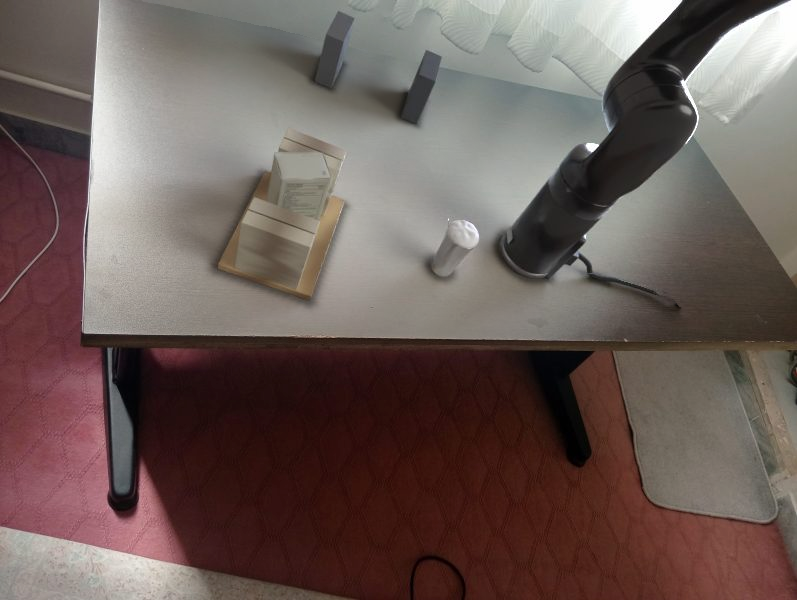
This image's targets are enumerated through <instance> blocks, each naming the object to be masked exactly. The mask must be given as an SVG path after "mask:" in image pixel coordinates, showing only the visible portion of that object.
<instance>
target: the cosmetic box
mask: <svg viewBox="0 0 797 600" xmlns="http://www.w3.org/2000/svg"><path fill="white" fill-rule="evenodd" d="M270 172H271V176H270V181H269V187H268V193H267V198H266V202H269V203H272V204H274V205H277V206H280V207H282V208H285V209H288V210H290V211H293V212H296V213H299V214H301V215H304V216H307V217H309V218H312V219H315V220H317V221H319V219H320V215H321V212H322V209H323V206H324V203H325V199H326V196H327V193H328V189H329V186H330V183H331V180H332V177H331V174H330V170H329V167H328V164H327V161H326V159H325V156H324V153H318V152H278V151H277V152H276V151H275V152H274V153H273V159H272V165H271V170H270Z"/></svg>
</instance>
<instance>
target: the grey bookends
mask: <svg viewBox="0 0 797 600" xmlns="http://www.w3.org/2000/svg"><path fill="white" fill-rule="evenodd" d="M355 20H356V18H355V17H354V16H351V15H349V14H347V13H344V12H342V11H339V10H338V11H337V12H336V14H335V16H334V18H333V19H332V21H331V23H330V25H329V28H328V30H327V31H326V33H325V37H324V41H323V45H322V49H321V52H320V53H321V54H320V56H319V57H320V58H319V61H318V66H317V71H316V74H315V79H314V83H316V84H319V85H322V86H324V87H326V88H328V89H333V86H334V83H335V81H336V79H337V78H338V76H339V75H338V74H339V73H340V70H341V68H342V66H343V63H344V59H345V56H346V52H347V49H348V45H349V41H350V38H351V34H352V31H353V27H354V23H355ZM442 59H443V57H442V55H440V54H437V53H435V52H432V51H430V50H428V49H426V50H425V51H424V54H423V56H422V59H421V61H420V64H419V66H418V67H417V71H416V74H415V76H414V78H413V81H412V82H411V83H412V84H411V85H410V88H409V91H408V94H407V96H406V100H405V104H404V106H403V110H402V114H401V116H400V118H401V119H404V120H405V121H408V122H411V123H412V124H415V125H417V124H418V123H419V120H420V119H421V116H422V113H423V112H424V109H425V107H426V105H427V103H428V100H429V99H430V96H431V93H432V91H433V89H434V87H435V84H436V82H437V79H438V75H439V71H440V66H441V63H442Z"/></svg>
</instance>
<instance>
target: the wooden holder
mask: <svg viewBox="0 0 797 600" xmlns="http://www.w3.org/2000/svg"><path fill="white" fill-rule="evenodd" d="M277 152H318V153H324V156H325V159H326V161H327V164H328V167H329V170H330V174H331V177H332V180H331V183H330V186H329V189H328V193H327V196H326V199H325V203H324V206H323V209H322V212H321V215H320V219H319V221H317V220H315V219H312V218H309V217H307V216H304V215H301V214H299V213H296V212H293V211H290V210H288V209H285V208H282V207H280V206H277V205H274V204H272V203H269V202H266V198H267V193H268V187H269V181H270V176H271V171H269V170H265V171H264V172H263V175H262V176H261V179H260V180H259V182H258V184H257V186H256V187H255V191H254V192H253V194H252V196H251V198H250V200H249V202H248V204H247V206H246V208H245V210H244V212H243V214H242V216H241V218H240V220H239V222H238V224H237V226H236V228H235V230H234V232H233V234H232V236H231V238H230V240H229V242H228V243H227V246H226V248H225V250H224V252H223V254H222V255H221V258H220V260H219V262H218V263H217V269H218V270H221V271H223V272H226V273H229V274H232V275H235V276H238V277H241V278H243V279H246V280H248V281H249V280H250V281H252V282H255V283H258V284H261V285H264V286H266V287H269V288H271V289H275V290H278V291H281V292H284V293H286V294H289V295H292V296H296V297H298V298H302V299H303V300H307V301H311V299H312V296H313V293H314V289H315V287H316V285H317V283H318V279H319V276H320V274H321V271H322V267H323V265H324V262H325V260H326V256H327V253H328V250H329V247H330V245H331V242H332V239H333V236H334V233H335V231H336V227H337V225H338V222H339V219H340V216H341V213H342V210H343V208H344V205H345V201H346V200H344V199H341V198H339V197H336V196H333V193H334V191H335V187H336V185H337V182H338V179H339V176H340V172H341V170H342V166H343V164H344V161H345V157H346V154H347V152H348V150H346V149H344V148H342V147H338V146H336V145H334V144H331V143H328V142H326V141H323V140H321V139H318V138H316V137H313V136H311V135H308V134H306V133H304V132H301V131H298V130H297V129H293V128H291V127H288V128H287V130H286V132H285V134H284V136H283V138H282V140H281V142H280V144H279V146H278V149H277Z"/></svg>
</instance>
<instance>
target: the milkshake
mask: <svg viewBox="0 0 797 600" xmlns="http://www.w3.org/2000/svg"><path fill="white" fill-rule="evenodd" d="M447 225H448V227H447V229H446V232H445V234H444V235H443V238H442V241H441V243H440V245H439V247H438V249H437V251H436V252H435V255H434V257H433V258H432V261H431V262H430V268H431V270H432V272H433V273H434V274H436V276H439V277H443V278H445V277H447V276H450V275H451V274H452V273H453V271H454V270H455V269H456V268H457V267H458V266H459V265H460V264H461V262H462V261H464V259H465V258H466V257H467V256H468V255H469V254H470V253H471V251H473V249H474V248H475V247H476V246H477V245H478V244H479V241H480V235H479V231H478V229H477V228H476V227H475V225H474V224H473V223H471V222H469V221H468V220H465V219H457V220H454V221H452V222H451V223H450V218H449V217H448V219H447Z"/></svg>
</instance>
